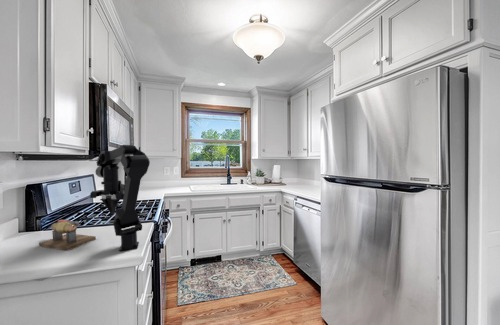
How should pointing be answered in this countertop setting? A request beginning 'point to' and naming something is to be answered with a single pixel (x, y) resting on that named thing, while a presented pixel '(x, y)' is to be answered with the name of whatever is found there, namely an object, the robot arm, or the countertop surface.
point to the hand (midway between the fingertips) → (112, 213)
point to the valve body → (64, 231)
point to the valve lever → (69, 222)
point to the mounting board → (66, 246)
